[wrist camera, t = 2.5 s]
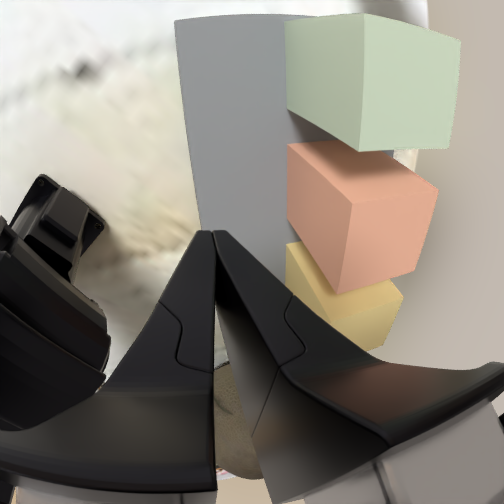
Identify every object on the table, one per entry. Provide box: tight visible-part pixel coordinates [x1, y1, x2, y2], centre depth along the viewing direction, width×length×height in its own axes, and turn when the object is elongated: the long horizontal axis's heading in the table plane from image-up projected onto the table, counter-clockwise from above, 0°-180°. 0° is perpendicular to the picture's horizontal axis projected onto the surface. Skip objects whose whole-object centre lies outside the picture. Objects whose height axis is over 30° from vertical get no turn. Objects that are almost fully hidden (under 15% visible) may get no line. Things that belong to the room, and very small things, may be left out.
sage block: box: [284, 13, 461, 152], centre depth 14 cm, size 6×6×8 cm
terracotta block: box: [287, 140, 439, 294], centre depth 19 cm, size 6×6×8 cm
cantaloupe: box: [214, 364, 264, 479], centre depth 32 cm, size 14×14×15 cm
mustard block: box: [285, 241, 404, 351], centre depth 24 cm, size 6×6×8 cm
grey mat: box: [174, 14, 394, 285], centre depth 23 cm, size 16×24×1 cm, turn 3°
